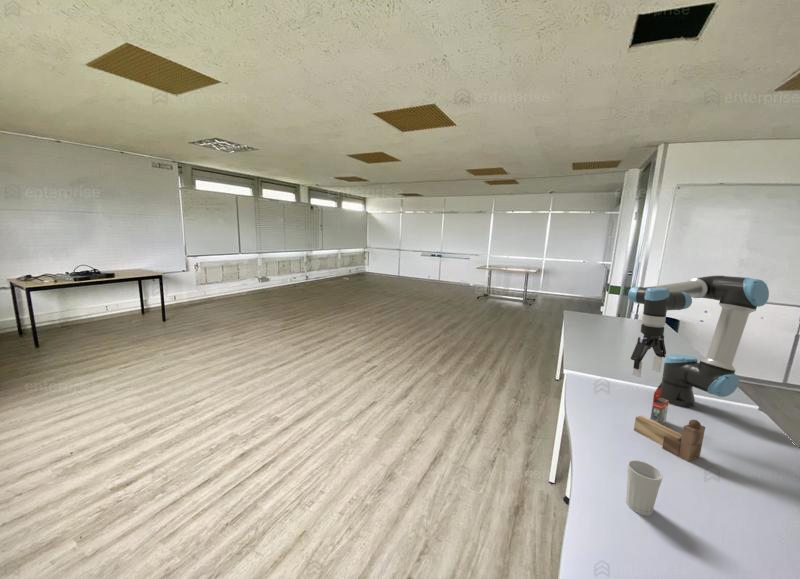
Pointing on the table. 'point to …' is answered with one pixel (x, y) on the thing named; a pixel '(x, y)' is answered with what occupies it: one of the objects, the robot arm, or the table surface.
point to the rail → (654, 430)
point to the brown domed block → (687, 442)
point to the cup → (642, 486)
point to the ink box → (659, 408)
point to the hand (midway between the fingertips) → (646, 373)
